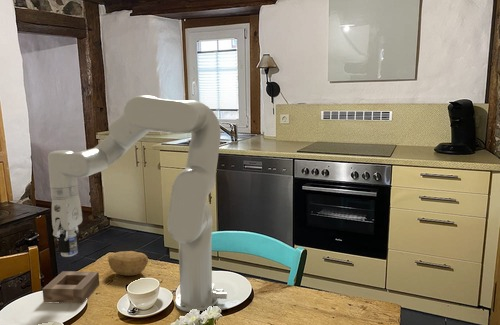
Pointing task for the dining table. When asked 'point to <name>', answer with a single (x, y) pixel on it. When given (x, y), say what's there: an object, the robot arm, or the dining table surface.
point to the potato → (128, 262)
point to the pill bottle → (71, 243)
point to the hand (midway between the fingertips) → (69, 248)
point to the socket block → (71, 287)
